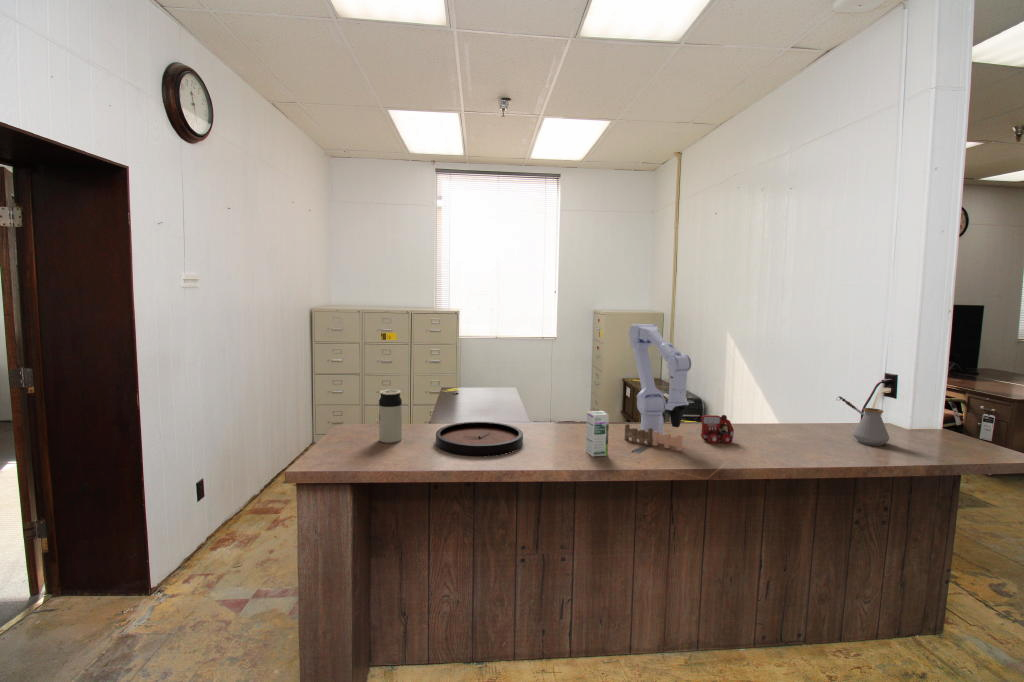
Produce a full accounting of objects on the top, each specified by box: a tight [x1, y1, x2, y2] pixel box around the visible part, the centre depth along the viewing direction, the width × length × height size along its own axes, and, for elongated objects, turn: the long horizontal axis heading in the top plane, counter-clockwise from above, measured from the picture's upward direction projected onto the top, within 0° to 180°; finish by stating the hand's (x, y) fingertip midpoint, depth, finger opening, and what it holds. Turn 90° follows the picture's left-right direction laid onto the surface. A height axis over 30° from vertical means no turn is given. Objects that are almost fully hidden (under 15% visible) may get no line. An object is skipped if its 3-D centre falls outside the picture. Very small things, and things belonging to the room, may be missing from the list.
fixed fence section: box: [624, 423, 653, 446], centre depth 187 cm, size 2×11×6 cm, turn 51°
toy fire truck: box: [700, 414, 735, 445], centre depth 191 cm, size 7×12×10 cm, turn 94°
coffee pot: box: [836, 396, 890, 447], centre depth 199 cm, size 21×12×15 cm, turn 14°
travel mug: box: [378, 389, 403, 444], centre depth 184 cm, size 8×8×18 cm
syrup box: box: [585, 410, 610, 458], centre depth 174 cm, size 6×6×14 cm
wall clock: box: [435, 421, 524, 458], centre depth 184 cm, size 31×4×31 cm
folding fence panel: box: [652, 431, 683, 452], centre depth 180 cm, size 10×1×5 cm, turn 52°
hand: (675, 426), depth 182 cm, fingers closed
